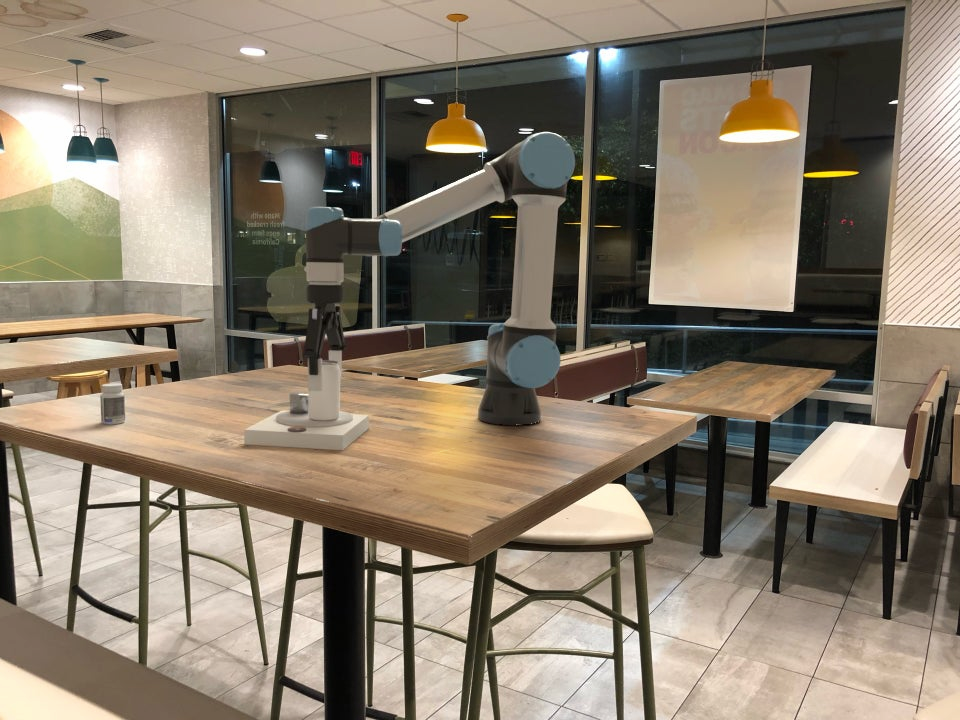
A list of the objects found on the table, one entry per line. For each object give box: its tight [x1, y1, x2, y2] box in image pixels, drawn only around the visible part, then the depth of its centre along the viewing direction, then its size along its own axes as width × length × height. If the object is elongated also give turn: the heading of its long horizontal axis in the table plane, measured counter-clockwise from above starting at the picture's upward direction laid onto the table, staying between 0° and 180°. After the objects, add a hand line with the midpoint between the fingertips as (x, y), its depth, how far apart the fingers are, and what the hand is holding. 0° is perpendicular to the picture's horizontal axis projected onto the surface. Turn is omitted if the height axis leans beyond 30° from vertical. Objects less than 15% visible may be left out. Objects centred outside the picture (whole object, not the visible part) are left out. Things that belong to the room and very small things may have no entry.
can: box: [307, 359, 341, 421], centre depth 156 cm, size 6×6×12 cm
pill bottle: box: [99, 382, 126, 425], centre depth 162 cm, size 5×5×8 cm
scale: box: [243, 410, 370, 451], centre depth 157 cm, size 20×21×4 cm
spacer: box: [289, 391, 309, 414], centre depth 163 cm, size 4×4×4 cm
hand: (325, 385), depth 156 cm, fingers open, 13 cm apart
